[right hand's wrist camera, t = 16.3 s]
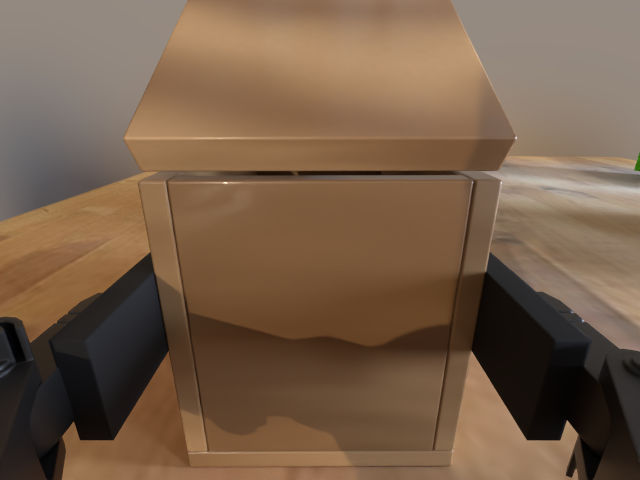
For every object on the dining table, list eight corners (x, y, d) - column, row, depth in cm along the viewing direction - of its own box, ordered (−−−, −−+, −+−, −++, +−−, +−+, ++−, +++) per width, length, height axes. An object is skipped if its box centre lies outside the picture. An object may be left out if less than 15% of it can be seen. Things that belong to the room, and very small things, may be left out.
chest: (255, 281, 26) (244, 135, 22) (383, 281, 26) (393, 135, 22) (189, 467, 13) (135, 180, 9) (451, 466, 13) (504, 180, 9)
